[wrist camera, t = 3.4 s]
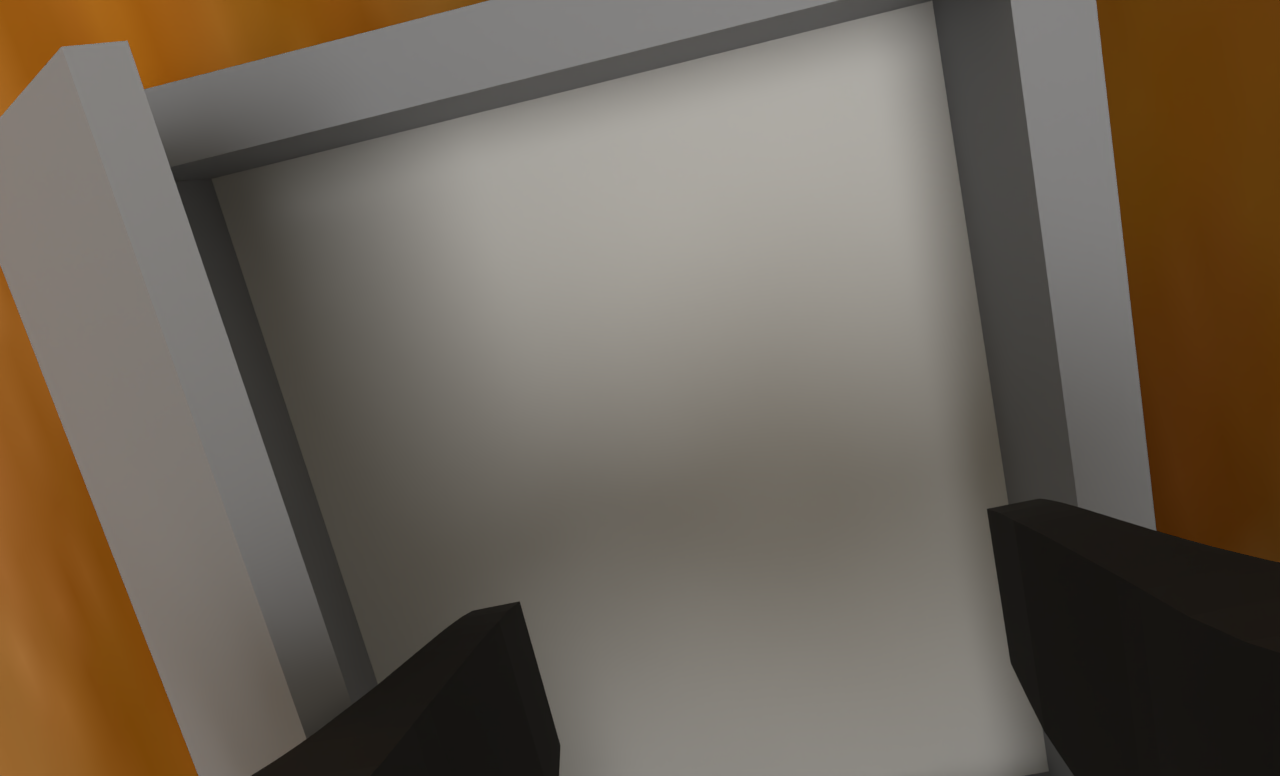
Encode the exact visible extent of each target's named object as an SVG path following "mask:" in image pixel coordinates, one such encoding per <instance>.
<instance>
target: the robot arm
mask: <svg viewBox="0 0 1280 776" xmlns="http://www.w3.org/2000/svg"><path fill="white" fill-rule="evenodd" d="M987 514H988V520H989V527H990V533H991V540H992V546H993V553H994V559H995V566H996V572H997V579H998V585H999V591H1000V598H1001V604H1002V611H1003V617H1004V624H1005V630H1006V637H1007V643H1008V650H1009V656H1010V663H1011V665H1012V667H1013V669H1014V671H1015V673H1016V675H1017V677H1018V680H1019V682H1020V684H1021V686H1022V688H1023V690H1024V692H1025V694H1026V696H1027V698H1028V700H1029V702H1030V704H1031V706H1032V708H1033V710H1034V712H1035V714H1036V716H1037V718H1038V720H1039V722H1040V724H1041V726H1042V728H1043V730H1044V732H1045V733H1046V735H1047V736H1048V738H1049V739H1050V741H1051V742H1052V744H1053V745H1054V747H1055V749H1056V750H1057V752H1058V753H1059V754H1060V756H1061V757H1062V759H1063V760H1064V762H1065V763H1066V765H1067V766H1068V768H1069V769H1070V771H1071V772H1072V774H1073V775H1074V776H1280V563H1279V562H1274V561H1269V560H1265V559H1261V558H1257V557H1252V556H1248V555H1244V554H1240V553H1236V552H1232V551H1228V550H1224V549H1220V548H1216V547H1212V546H1208V545H1204V544H1201V543H1197V542H1193V541H1190V540H1186V539H1182V538H1179V537H1175V536H1172V535H1168V534H1165V533H1162V532H1158V531H1155V530H1152V529H1148V528H1145V527H1142V526H1138V525H1135V524H1132V523H1129V522H1125V521H1122V520H1119V519H1116V518H1113V517H1109V516H1106V515H1103V514H1100V513H1096V512H1093V511H1090V510H1087V509H1083V508H1080V507H1076V506H1073V505H1069V504H1066V503H1062V502H1058V501H1053V500H1047V499H1040V498H1039V499H1034V500H1029V501H1024V502H1019V503H1014V504H1009V505H1004V506H999V507H994V508H989V509H987ZM560 747H561V745H560V742H559V738H558V735H557V731H556V728H555V724H554V721H553V717H552V714H551V710H550V707H549V703H548V699H547V696H546V692H545V689H544V685H543V682H542V678H541V675H540V671H539V668H538V664H537V661H536V657H535V654H534V650H533V646H532V643H531V639H530V636H529V632H528V629H527V625H526V622H525V618H524V615H523V611H522V608H521V604H520V601H518V602H513V603H508V604H503V605H498V606H493V607H488V608H483V609H478V610H473V611H471V612H469V613H467V614H466V615H464V616H462V617H461V618H459V619H458V620H456V621H455V622H454V623H452V624H451V625H450V626H448V627H447V628H446V629H444V630H443V631H442V632H441V633H439V634H438V635H437V636H436V637H435V638H433V639H432V640H431V641H430V642H428V643H427V644H426V645H425V646H424V647H422V648H421V649H420V650H419V651H418V652H416V653H415V654H414V655H413V656H412V657H410V658H409V659H408V660H407V661H406V662H404V663H403V664H402V665H401V666H400V667H398V668H397V669H396V670H395V671H394V672H392V673H391V674H390V675H389V676H388V677H386V678H385V679H384V680H383V681H382V682H380V683H379V684H378V685H377V686H375V687H374V688H373V689H372V690H370V691H369V692H368V693H366V694H365V695H364V696H363V697H361V698H360V699H359V700H357V701H356V702H355V703H353V704H352V705H351V706H350V707H348V708H347V709H346V710H344V711H343V712H342V713H340V714H339V715H338V716H336V717H335V718H334V719H333V720H331V721H330V722H329V723H327V724H326V725H325V726H323V727H322V728H321V729H320V730H318V731H317V732H316V733H314V734H313V735H311V736H310V737H309V738H307V739H306V740H304V741H303V742H302V743H300V744H299V745H297V746H296V747H294V748H293V749H291V750H290V751H288V752H287V753H286V754H284V755H283V756H281V757H280V758H278V759H277V760H275V761H273V762H272V763H270V764H269V765H267V766H266V767H264V768H262V769H261V770H259V771H258V772H256V773H254V774H253V775H251V776H559V768H560Z"/></svg>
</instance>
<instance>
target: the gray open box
mask: <svg viewBox="0 0 1280 776" xmlns="http://www.w3.org/2000/svg"><path fill="white" fill-rule="evenodd" d="M144 91H145V94H146V97H147V100H148V103H149V106H150V109H151V112H152V115H153V118H154V121H155V124H156V127H157V130H158V133H159V136H160V139H161V141H162V144H163V147H164V150H165V153H166V156H167V159H168V162H169V165H170V168H171V171H172V174H173V177H174V180H175V183H176V186H177V189H178V192H179V195H180V198H181V201H182V204H183V206H184V209H185V212H186V215H187V218H188V221H189V224H190V227H191V230H192V233H193V236H194V239H195V242H196V245H197V248H198V251H199V254H200V257H201V260H202V263H203V266H204V269H205V271H206V274H207V277H208V280H209V283H210V286H211V289H212V292H213V295H214V298H215V301H216V304H217V307H218V310H219V313H220V316H221V319H222V322H223V325H224V328H225V331H226V334H227V336H228V339H229V342H230V345H231V348H232V351H233V354H234V357H235V360H236V363H237V366H238V369H239V372H240V375H241V378H242V381H243V384H244V387H245V390H246V393H247V396H248V398H249V401H250V404H251V407H252V410H253V413H254V416H255V419H256V422H257V425H258V428H259V431H260V434H261V437H262V440H263V443H264V446H265V449H266V452H267V455H268V458H269V461H270V463H271V466H272V469H273V472H274V475H275V478H276V481H277V484H278V487H279V490H280V493H281V496H282V499H283V502H284V505H285V508H286V511H287V514H288V517H289V520H290V523H291V526H292V528H293V531H294V534H295V537H296V540H297V543H298V546H299V549H300V552H301V555H302V558H303V561H304V564H305V567H306V570H307V573H308V576H309V579H310V582H311V585H312V588H313V591H314V593H315V596H316V599H317V602H318V605H319V608H320V611H321V614H322V617H323V620H324V623H325V626H326V629H327V632H328V635H329V638H330V641H331V644H332V647H333V650H334V653H335V656H336V658H337V661H338V664H339V667H340V670H341V673H342V676H343V679H344V682H345V685H346V688H347V691H348V694H349V697H350V700H351V703H352V704H353V703H355V702H356V701H357V700H359V699H360V698H361V697H363V696H364V695H365V694H366V693H368V692H369V691H370V690H372V689H373V688H374V687H375V686H377V685H378V684H379V683H380V682H382V681H383V680H384V679H385V678H386V677H388V676H389V675H390V674H391V673H392V672H394V671H395V670H396V669H397V668H398V667H400V666H401V665H402V664H403V663H404V662H406V661H407V660H408V659H409V658H410V657H412V656H413V655H414V654H415V653H416V652H418V651H419V650H420V649H421V648H422V647H424V646H425V645H426V644H427V643H428V642H430V641H431V640H432V639H433V638H435V637H436V636H437V635H438V634H439V633H441V632H442V631H443V630H444V629H446V628H447V627H448V626H450V625H451V624H452V623H454V622H455V621H456V620H458V619H459V618H461V617H462V616H464V615H466V614H467V613H469V612H471V611H473V610H478V609H483V608H488V607H493V606H498V605H503V604H508V603H513V602H518V601H520V604H521V608H522V611H523V615H524V618H525V622H526V625H527V629H528V632H529V636H530V639H531V643H532V646H533V650H534V654H535V657H536V661H537V664H538V668H539V671H540V675H541V678H542V682H543V685H544V689H545V692H546V696H547V699H548V703H549V707H550V710H551V714H552V717H553V721H554V724H555V728H556V731H557V735H558V738H559V742H560V745H561V747H560V768H559V776H1074V775H1073V774H1072V772H1071V771H1070V769H1069V768H1068V766H1067V765H1066V763H1065V762H1064V760H1063V759H1062V757H1061V756H1060V754H1059V753H1058V752H1057V750H1056V749H1055V747H1054V745H1053V744H1052V742H1051V741H1050V739H1049V738H1048V736H1047V735H1046V733H1045V732H1044V730H1043V728H1042V726H1041V724H1040V722H1039V720H1038V718H1037V716H1036V714H1035V712H1034V710H1033V708H1032V706H1031V704H1030V702H1029V700H1028V698H1027V696H1026V694H1025V692H1024V690H1023V688H1022V686H1021V684H1020V682H1019V680H1018V677H1017V675H1016V673H1015V671H1014V669H1013V667H1012V665H1011V663H1010V656H1009V650H1008V643H1007V637H1006V630H1005V624H1004V617H1003V611H1002V604H1001V598H1000V591H999V585H998V579H997V572H996V566H995V559H994V553H993V546H992V540H991V533H990V527H989V520H988V514H987V509H989V508H994V507H999V506H1004V505H1009V504H1014V503H1019V502H1024V501H1029V500H1034V499H1039V498H1040V499H1047V500H1053V501H1058V502H1062V503H1066V504H1069V505H1073V506H1076V507H1080V508H1083V509H1087V510H1090V511H1093V512H1096V513H1100V514H1103V515H1106V516H1109V517H1113V518H1116V519H1119V520H1122V521H1125V522H1129V523H1132V524H1135V525H1138V526H1142V527H1145V528H1148V529H1152V530H1155V531H1156V524H1155V515H1154V506H1153V497H1152V489H1151V480H1150V471H1149V462H1148V454H1147V445H1146V436H1145V427H1144V418H1143V410H1142V401H1141V392H1140V383H1139V374H1138V366H1137V357H1136V348H1135V339H1134V331H1133V322H1132V313H1131V304H1130V295H1129V287H1128V278H1127V269H1126V260H1125V252H1124V243H1123V234H1122V225H1121V216H1120V208H1119V199H1118V190H1117V181H1116V172H1115V164H1114V155H1113V146H1112V137H1111V129H1110V120H1109V111H1108V102H1107V93H1106V85H1105V76H1104V67H1103V58H1102V50H1101V41H1100V32H1099V23H1098V14H1097V6H1096V0H489V1H486V2H482V3H478V4H474V5H470V6H466V7H462V8H458V9H455V10H451V11H447V12H443V13H439V14H435V15H431V16H427V17H424V18H420V19H416V20H412V21H408V22H404V23H400V24H396V25H392V26H389V27H385V28H381V29H377V30H373V31H369V32H365V33H361V34H358V35H354V36H350V37H346V38H342V39H338V40H334V41H330V42H327V43H323V44H319V45H315V46H311V47H307V48H303V49H299V50H295V51H292V52H288V53H284V54H280V55H276V56H272V57H268V58H264V59H261V60H257V61H253V62H249V63H245V64H241V65H237V66H233V67H230V68H226V69H222V70H218V71H214V72H210V73H206V74H202V75H199V76H195V77H191V78H187V79H183V80H179V81H175V82H171V83H167V84H164V85H160V86H156V87H152V88H148V89H144Z"/></svg>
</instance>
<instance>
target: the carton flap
mask: <svg viewBox="0 0 1280 776" xmlns="http://www.w3.org/2000/svg"><path fill="white" fill-rule="evenodd" d="M0 265H1V268H2V270H3V273H4V275H5V278H6V280H7V283H8V286H9V288H10V291H11V293H12V296H13V298H14V301H15V304H16V306H17V309H18V311H19V314H20V317H21V319H22V322H23V324H24V327H25V329H26V332H27V335H28V337H29V340H30V342H31V345H32V347H33V350H34V353H35V355H36V358H37V360H38V363H39V366H40V368H41V371H42V373H43V376H44V378H45V381H46V384H47V386H48V389H49V391H50V394H51V396H52V399H53V402H54V404H55V407H56V409H57V412H58V415H59V417H60V420H61V422H62V425H63V427H64V430H65V433H66V435H67V438H68V440H69V443H70V445H71V448H72V451H73V453H74V456H75V458H76V461H77V463H78V466H79V469H80V471H81V474H82V476H83V479H84V482H85V484H86V487H87V489H88V492H89V494H90V497H91V500H92V502H93V505H94V507H95V510H96V512H97V515H98V518H99V520H100V523H101V525H102V528H103V531H104V533H105V536H106V538H107V541H108V543H109V546H110V549H111V551H112V554H113V556H114V559H115V561H116V564H117V567H118V569H119V572H120V574H121V577H122V579H123V582H124V585H125V587H126V590H127V592H128V595H129V598H130V600H131V603H132V605H133V608H134V610H135V613H136V616H137V618H138V621H139V623H140V626H141V628H142V631H143V634H144V636H145V639H146V641H147V644H148V647H149V649H150V652H151V654H152V657H153V659H154V662H155V665H156V667H157V670H158V672H159V675H160V677H161V680H162V683H163V685H164V688H165V690H166V693H167V696H168V698H169V701H170V703H171V706H172V708H173V711H174V714H175V716H176V719H177V721H178V724H179V726H180V729H181V732H182V734H183V737H184V739H185V742H186V744H187V747H188V750H189V752H190V755H191V757H192V760H193V763H194V765H195V768H196V770H197V773H198V775H199V776H251V775H253V774H254V773H256V772H258V771H259V770H261V769H262V768H264V767H266V766H267V765H269V764H270V763H272V762H273V761H275V760H277V759H278V758H280V757H281V756H283V755H284V754H286V753H287V752H288V751H290V750H291V749H293V748H294V747H296V746H297V745H299V744H300V743H302V742H303V741H304V740H306V739H307V738H309V737H310V736H311V735H313V734H314V733H316V732H317V731H318V730H320V729H321V728H322V727H323V726H325V725H326V724H327V723H329V722H330V721H331V720H333V719H334V718H335V717H336V716H338V715H339V714H340V713H342V712H343V711H344V710H346V709H347V708H348V707H350V706H351V705H352V703H351V700H350V697H349V694H348V691H347V688H346V685H345V682H344V679H343V676H342V673H341V670H340V667H339V664H338V661H337V658H336V656H335V653H334V650H333V647H332V644H331V641H330V638H329V635H328V632H327V629H326V626H325V623H324V620H323V617H322V614H321V611H320V608H319V605H318V602H317V599H316V596H315V593H314V591H313V588H312V585H311V582H310V579H309V576H308V573H307V570H306V567H305V564H304V561H303V558H302V555H301V552H300V549H299V546H298V543H297V540H296V537H295V534H294V531H293V528H292V526H291V523H290V520H289V517H288V514H287V511H286V508H285V505H284V502H283V499H282V496H281V493H280V490H279V487H278V484H277V481H276V478H275V475H274V472H273V469H272V466H271V463H270V461H269V458H268V455H267V452H266V449H265V446H264V443H263V440H262V437H261V434H260V431H259V428H258V425H257V422H256V419H255V416H254V413H253V410H252V407H251V404H250V401H249V398H248V396H247V393H246V390H245V387H244V384H243V381H242V378H241V375H240V372H239V369H238V366H237V363H236V360H235V357H234V354H233V351H232V348H231V345H230V342H229V339H228V336H227V334H226V331H225V328H224V325H223V322H222V319H221V316H220V313H219V310H218V307H217V304H216V301H215V298H214V295H213V292H212V289H211V286H210V283H209V280H208V277H207V274H206V271H205V269H204V266H203V263H202V260H201V257H200V254H199V251H198V248H197V245H196V242H195V239H194V236H193V233H192V230H191V227H190V224H189V221H188V218H187V215H186V212H185V209H184V206H183V204H182V201H181V198H180V195H179V192H178V189H177V186H176V183H175V180H174V177H173V174H172V171H171V168H170V165H169V162H168V159H167V156H166V153H165V150H164V147H163V144H162V141H161V139H160V136H159V133H158V130H157V127H156V124H155V121H154V118H153V115H152V112H151V109H150V106H149V103H148V100H147V97H146V94H145V91H144V88H143V85H142V82H141V79H140V76H139V74H138V71H137V68H136V65H135V62H134V59H133V56H132V53H131V50H130V47H129V44H128V41H120V42H109V43H98V44H87V45H76V46H66V47H61V48H60V49H59V50H58V51H57V53H56V54H55V55H54V56H53V57H52V58H51V60H50V61H49V62H48V63H47V64H46V65H45V66H44V68H43V69H42V70H41V71H40V72H39V73H38V75H37V76H36V77H35V78H34V79H33V80H32V81H31V83H30V84H29V85H28V86H27V87H26V88H25V89H24V91H23V92H22V93H21V94H20V95H19V96H18V98H17V99H16V100H15V101H14V102H13V103H12V104H11V106H10V107H9V108H8V109H7V110H6V111H5V113H4V114H3V115H2V116H1V117H0Z"/></svg>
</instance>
